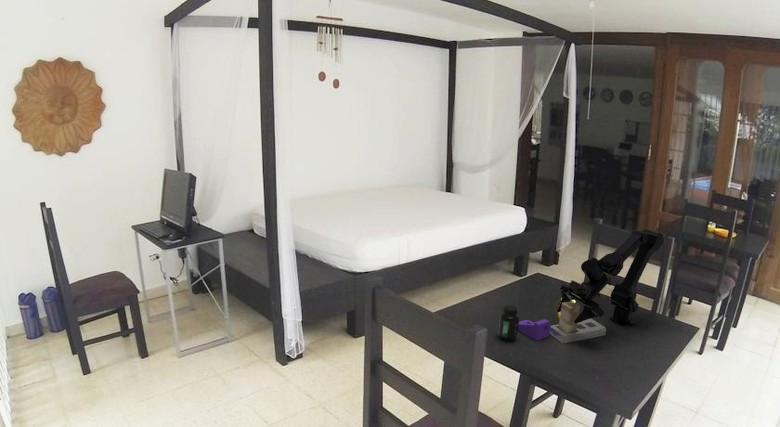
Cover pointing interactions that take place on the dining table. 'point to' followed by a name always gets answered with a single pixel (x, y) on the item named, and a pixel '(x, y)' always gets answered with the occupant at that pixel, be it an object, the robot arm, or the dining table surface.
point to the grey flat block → (579, 331)
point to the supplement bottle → (508, 324)
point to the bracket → (535, 328)
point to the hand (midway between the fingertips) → (566, 317)
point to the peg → (568, 317)
